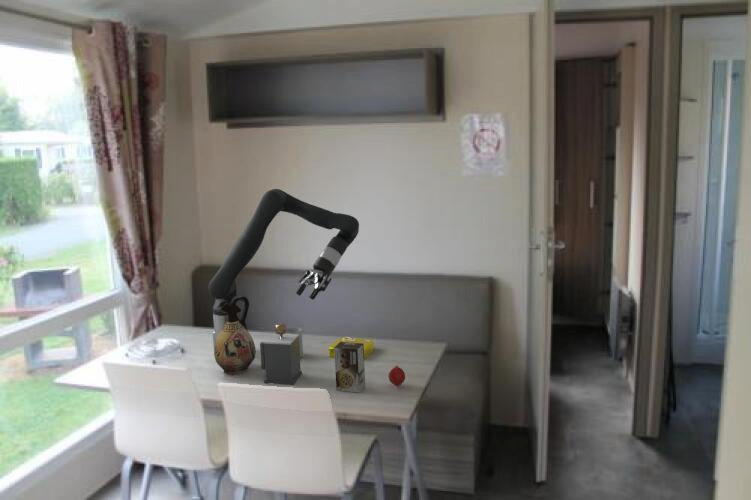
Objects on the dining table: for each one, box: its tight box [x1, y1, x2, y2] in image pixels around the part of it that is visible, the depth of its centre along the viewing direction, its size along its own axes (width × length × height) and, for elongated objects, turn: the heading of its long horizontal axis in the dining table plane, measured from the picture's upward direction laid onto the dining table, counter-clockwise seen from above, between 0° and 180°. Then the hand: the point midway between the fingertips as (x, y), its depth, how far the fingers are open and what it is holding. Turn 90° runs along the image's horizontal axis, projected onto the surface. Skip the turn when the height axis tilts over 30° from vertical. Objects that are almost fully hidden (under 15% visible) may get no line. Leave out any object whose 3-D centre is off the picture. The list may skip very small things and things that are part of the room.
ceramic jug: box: [213, 294, 257, 376], centre depth 249 cm, size 17×15×30 cm
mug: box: [285, 326, 304, 359], centre depth 266 cm, size 12×8×11 cm
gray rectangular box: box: [259, 332, 303, 385], centre depth 242 cm, size 14×11×16 cm
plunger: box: [274, 322, 287, 339], centre depth 241 cm, size 8×8×19 cm
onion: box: [388, 364, 406, 387], centre depth 232 cm, size 6×6×8 cm
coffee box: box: [334, 342, 366, 394], centre depth 231 cm, size 9×6×16 cm
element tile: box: [328, 336, 375, 360], centre depth 269 cm, size 15×15×5 cm
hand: (304, 296), depth 245 cm, fingers open, 8 cm apart
